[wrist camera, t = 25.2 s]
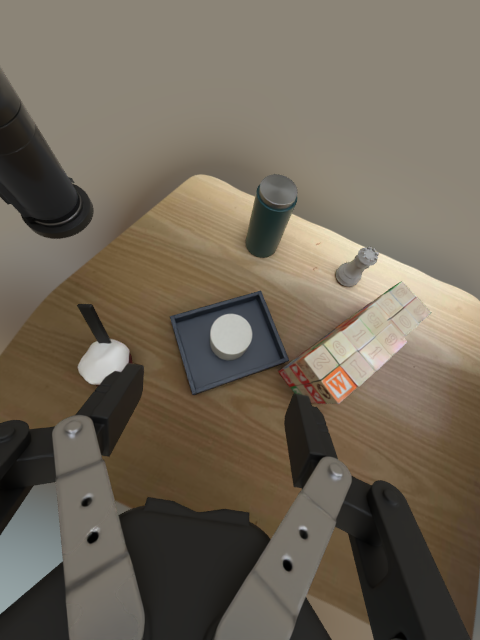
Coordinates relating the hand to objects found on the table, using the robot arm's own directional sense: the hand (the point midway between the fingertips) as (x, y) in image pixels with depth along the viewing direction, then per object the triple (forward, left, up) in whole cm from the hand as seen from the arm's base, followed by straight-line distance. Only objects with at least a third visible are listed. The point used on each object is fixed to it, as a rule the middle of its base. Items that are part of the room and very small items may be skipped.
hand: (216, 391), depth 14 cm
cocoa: (-12, +10, -27) cm, 31 cm away
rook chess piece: (+30, +13, -27) cm, 42 cm away
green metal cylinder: (+17, +24, -27) cm, 40 cm away
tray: (+5, +8, -27) cm, 28 cm away
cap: (+5, +8, -26) cm, 28 cm away
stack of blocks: (+22, +1, -27) cm, 35 cm away
